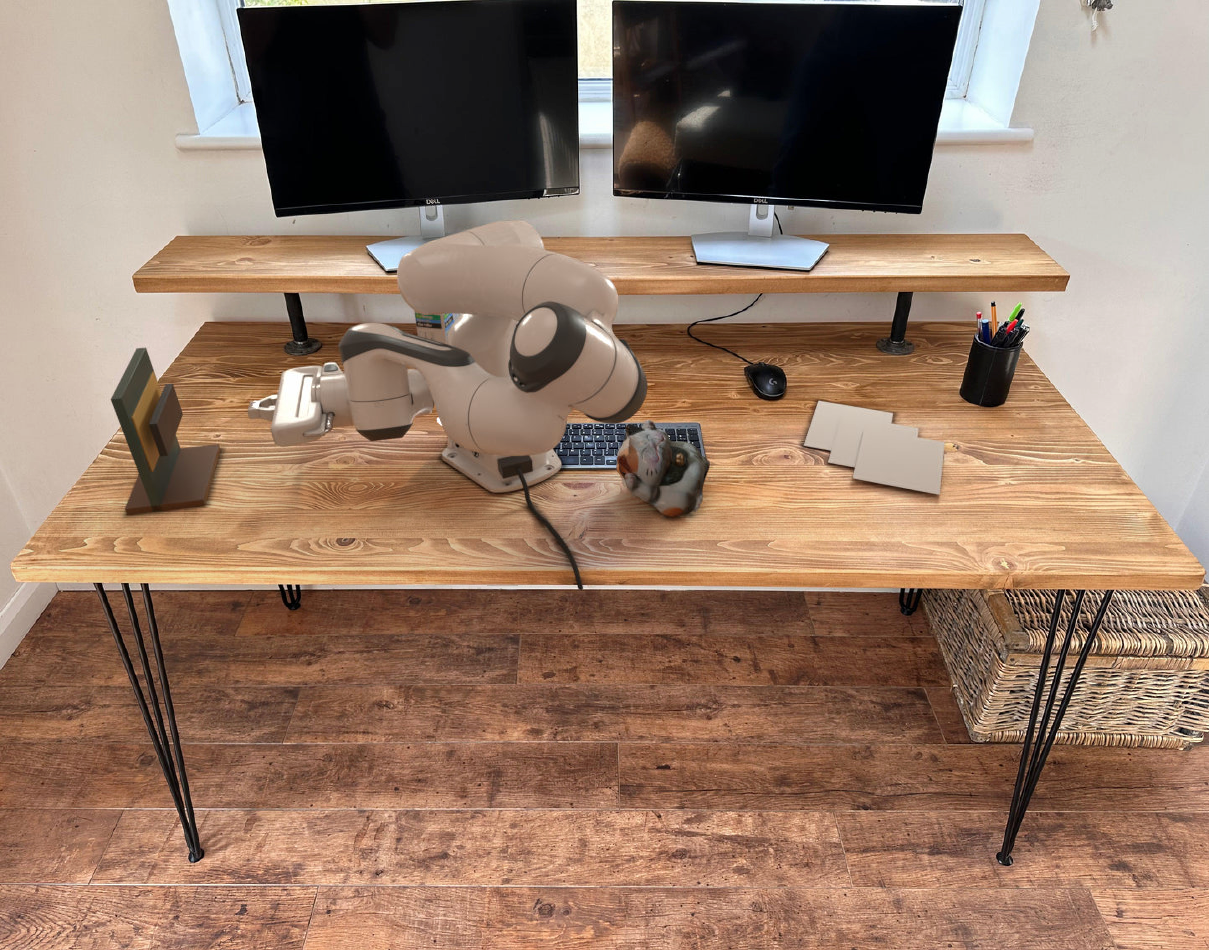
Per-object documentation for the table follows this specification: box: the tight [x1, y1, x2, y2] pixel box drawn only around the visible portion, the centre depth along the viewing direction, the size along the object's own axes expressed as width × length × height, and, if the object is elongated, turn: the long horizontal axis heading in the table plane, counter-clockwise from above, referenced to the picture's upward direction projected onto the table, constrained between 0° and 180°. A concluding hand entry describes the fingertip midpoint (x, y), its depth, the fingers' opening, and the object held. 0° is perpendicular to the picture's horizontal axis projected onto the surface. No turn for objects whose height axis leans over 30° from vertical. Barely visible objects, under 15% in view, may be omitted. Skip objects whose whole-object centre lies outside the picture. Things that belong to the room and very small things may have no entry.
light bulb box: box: [413, 310, 460, 344], centre depth 189 cm, size 11×7×11 cm, turn 168°
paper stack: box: [803, 400, 946, 496], centre depth 156 cm, size 23×25×1 cm
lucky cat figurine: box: [615, 419, 711, 518], centre depth 142 cm, size 15×12×14 cm
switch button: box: [149, 383, 184, 456], centre depth 143 cm, size 1×13×6 cm, turn 11°
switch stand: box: [110, 347, 222, 516], centre depth 144 cm, size 12×17×21 cm
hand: (249, 410), depth 145 cm, fingers closed
